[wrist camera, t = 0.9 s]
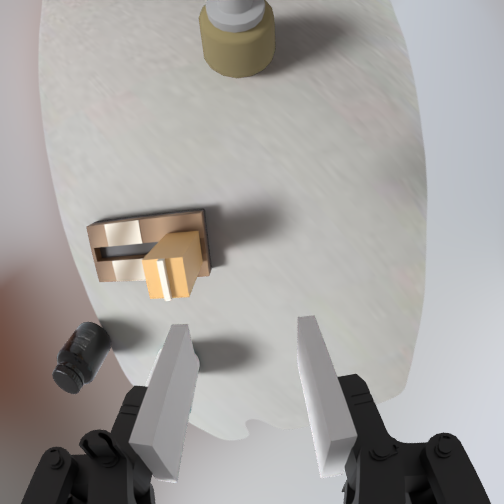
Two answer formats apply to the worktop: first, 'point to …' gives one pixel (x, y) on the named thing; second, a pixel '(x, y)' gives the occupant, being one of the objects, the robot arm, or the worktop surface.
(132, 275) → the console
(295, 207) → the worktop surface
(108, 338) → the supplement bottle
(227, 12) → the squeeze bottle
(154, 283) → the fader tab
